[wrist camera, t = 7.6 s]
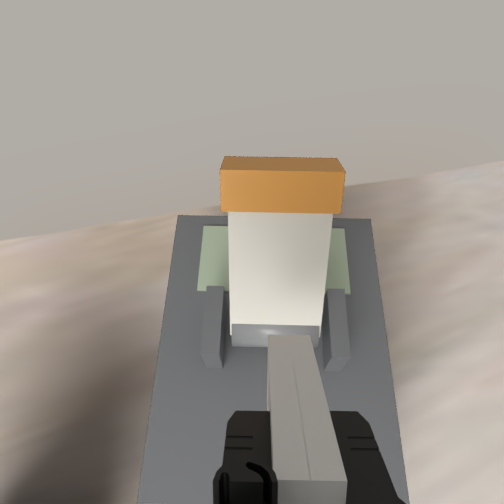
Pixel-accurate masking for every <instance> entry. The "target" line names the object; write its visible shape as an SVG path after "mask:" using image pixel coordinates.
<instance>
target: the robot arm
mask: <svg viewBox="0 0 504 504" xmlns="http://www.w3.org/2000/svg"><path fill="white" fill-rule="evenodd" d="M213 504H406V503H405V502H403V501H402V500H401V499H400V498H398V496H397V493H396V491H395V488H394V486H393V483H392V480H391V478H390V475H389V473H388V470H387V468H386V465H385V462H384V460H383V457H382V455H381V452H380V451H379V447H378V444H377V442H376V440H375V437H374V434H373V431H372V429H371V426H370V424H369V422H368V421H367V420H366V419H365V418H364V417H363V416H362V415H361V414H360V413H359V412H358V411H329V408H328V404H327V400H326V396H325V392H324V388H323V384H322V380H321V377H320V373H319V369H318V365H317V361H316V357H315V353H314V349H313V345H312V342H311V338H310V335H268V364H267V411H238V410H236V411H235V412H234V413H233V415H232V416H231V418H230V419H229V420H228V422H227V428H226V438H225V445H224V454H223V462H222V466H221V467H220V468H219V469H218V470H217V471H216V474H215V476H214V479H213Z"/></svg>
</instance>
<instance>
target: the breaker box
mask: <svg viewBox="0 0 504 504" xmlns="http://www.w3.org/2000/svg"><path fill="white" fill-rule="evenodd" d="M314 353H315V357H316V361H317V365H318V369H319V373H320V377H321V380H322V384H323V388H324V392H325V396H326V400H327V404H328V408H329V411H358V412H359V413H360V414H361V415H362V416H363V417H364V418H365V419H366V420H367V421H368V422H369V424H370V426H371V429H372V431H373V434H374V437H375V440H376V442H377V444H378V447H379V451H380V452H381V455H382V457H383V460H384V462H385V465H386V468H387V470H388V473H389V475H390V478H391V480H392V483H393V486H394V488H395V491H396V493H397V496H398V498H400V499H401V500H402V501H403V502H405V503H406V504H410V503H409V496H408V489H407V481H406V474H405V467H404V460H403V452H402V445H401V438H400V430H399V423H398V416H397V409H396V401H395V394H394V387H393V380H392V372H391V365H390V358H389V350H388V343H387V336H386V329H385V321H384V314H383V307H382V300H381V292H380V285H379V278H378V270H377V263H376V256H375V249H374V241H373V234H372V227H371V220H370V219H343V218H333V219H332V229H331V238H330V247H329V257H328V266H327V276H326V285H325V294H324V304H323V313H322V322H321V332H320V337H319V343H318V347H317V349H314ZM267 364H268V347H236V346H232V335H230V297H229V243H228V216H189V215H178V218H177V225H176V232H175V239H174V246H173V253H172V260H171V267H170V274H169V281H168V288H167V295H166V302H165V309H164V316H163V323H162V330H161V337H160V344H159V351H158V358H157V365H156V372H155V379H154V386H153V393H152V400H151V407H150V413H149V420H148V427H147V434H146V441H145V448H144V455H143V462H142V469H141V476H140V483H139V490H138V497H137V503H138V504H213V479H214V476H215V474H216V471H217V470H218V469H219V468H220V467H221V466H222V462H223V454H224V445H225V438H226V428H227V422H228V420H229V419H230V418H231V416H232V415H233V413H234V412H235V411H236V410H238V411H267Z"/></svg>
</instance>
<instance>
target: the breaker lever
mask: <svg viewBox="0 0 504 504" xmlns="http://www.w3.org/2000/svg"><path fill="white" fill-rule="evenodd" d="M345 173H346V172H345V170H344V168H343V167H342V165H341V164H340V162H339V160H338V159H337V158H297V157H292V158H291V157H235V156H233V157H231V156H225V157H224V159H223V162H222V165H221V168H220V190H221V191H220V193H221V212H228V243H229V297H230V335H232V346H236V347H268V335H310V338H311V342H312V345H313V349H317V347H318V343H319V337H320V332H321V322H322V313H323V304H324V294H325V285H326V276H327V266H328V257H329V247H330V238H331V229H332V219H333V214H341V207H342V199H343V190H344V181H345Z"/></svg>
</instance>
